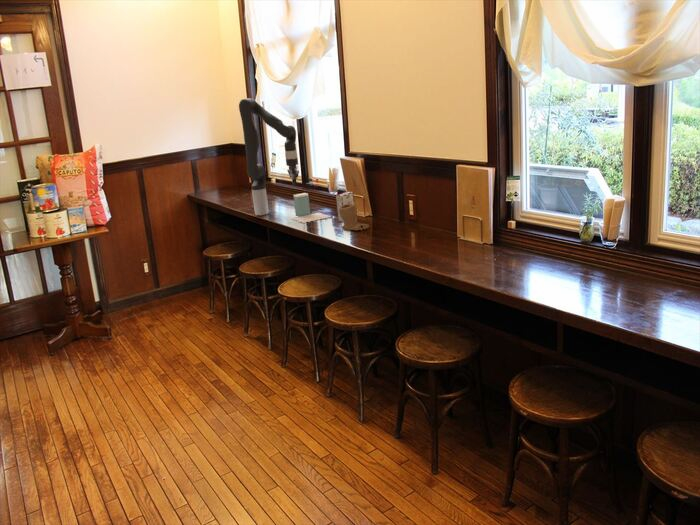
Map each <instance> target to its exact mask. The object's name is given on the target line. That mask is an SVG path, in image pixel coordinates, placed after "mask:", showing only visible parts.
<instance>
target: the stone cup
mask: <svg viewBox="0 0 700 525" xmlns="http://www.w3.org/2000/svg"><path fill="white" fill-rule="evenodd" d="M357 208H358V207H357V205H356V204H355V203H354V204H353V203H352V204H345V205H342V206H340V207H339V213H340V216H341V218H342V219H343V221H344V222H343V225H342V226H341V228H340V229H342V230H348V231H358V230H361V231H363V230H362V229H364V230H366V229H368V228H369V227H370V225H369V224H368V223H360V222H358V209H357Z"/></svg>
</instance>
